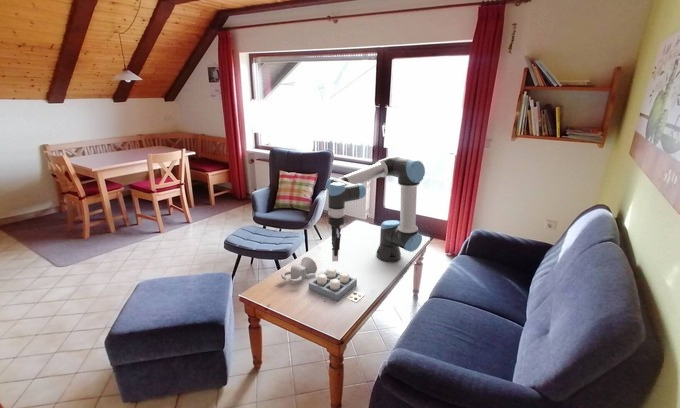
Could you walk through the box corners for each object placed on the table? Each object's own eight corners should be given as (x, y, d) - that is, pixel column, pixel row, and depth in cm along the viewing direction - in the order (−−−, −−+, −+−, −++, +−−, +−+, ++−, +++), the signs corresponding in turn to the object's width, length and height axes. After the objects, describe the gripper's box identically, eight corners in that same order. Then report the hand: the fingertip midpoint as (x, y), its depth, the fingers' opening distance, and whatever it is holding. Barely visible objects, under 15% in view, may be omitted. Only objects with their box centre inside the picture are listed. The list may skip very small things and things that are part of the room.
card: (354, 291, 176) (354, 290, 175) (364, 295, 172) (364, 294, 172) (346, 298, 169) (346, 297, 169) (356, 302, 166) (356, 301, 166)
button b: (320, 279, 180) (320, 272, 178) (328, 282, 177) (328, 276, 176) (314, 283, 176) (314, 277, 174) (322, 287, 173) (322, 280, 172)
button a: (333, 284, 175) (333, 277, 174) (342, 288, 172) (342, 281, 171) (327, 289, 171) (327, 282, 170) (336, 292, 168) (336, 285, 167)
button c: (342, 277, 182) (342, 271, 180) (350, 281, 179) (351, 274, 178) (337, 282, 178) (337, 275, 176) (345, 285, 175) (345, 278, 174)
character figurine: (301, 267, 198) (278, 283, 182) (301, 253, 195) (277, 268, 179) (319, 273, 192) (297, 290, 176) (319, 259, 188) (296, 275, 173)
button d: (330, 273, 186) (330, 266, 185) (337, 276, 183) (338, 269, 182) (324, 277, 182) (324, 270, 181) (332, 280, 179) (332, 273, 178)
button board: (329, 275, 190) (329, 268, 189) (356, 285, 181) (356, 279, 179) (308, 289, 176) (308, 282, 175) (337, 301, 166) (337, 294, 165)
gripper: (326, 211, 165) (325, 255, 172) (330, 220, 153) (329, 267, 160) (341, 210, 166) (340, 254, 173) (346, 220, 154) (345, 266, 161)
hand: (335, 260), depth 167 cm, fingers closed
